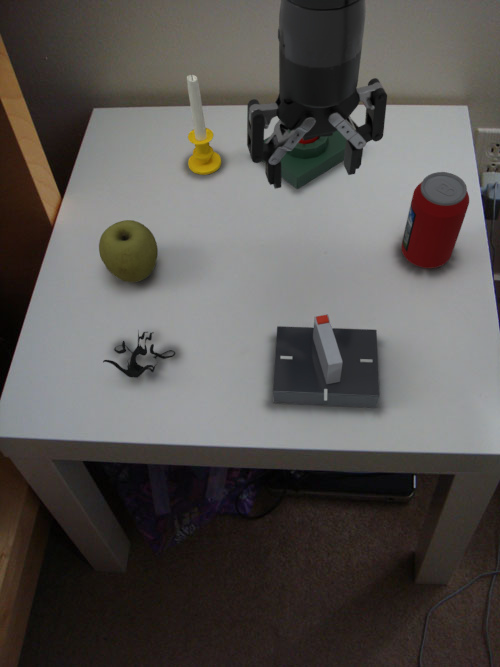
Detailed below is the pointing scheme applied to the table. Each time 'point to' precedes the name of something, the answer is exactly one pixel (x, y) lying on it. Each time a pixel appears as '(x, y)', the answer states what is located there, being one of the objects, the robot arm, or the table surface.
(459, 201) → the beverage can
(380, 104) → the robot arm
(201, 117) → the candle
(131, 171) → the table surface
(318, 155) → the button box
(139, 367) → the creature
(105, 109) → the table surface
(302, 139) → the red button
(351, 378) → the plate
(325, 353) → the tap handle
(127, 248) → the apple
